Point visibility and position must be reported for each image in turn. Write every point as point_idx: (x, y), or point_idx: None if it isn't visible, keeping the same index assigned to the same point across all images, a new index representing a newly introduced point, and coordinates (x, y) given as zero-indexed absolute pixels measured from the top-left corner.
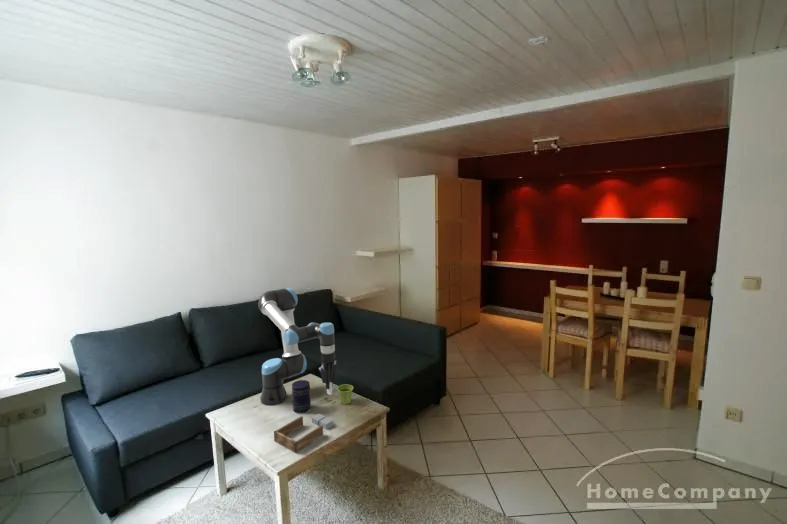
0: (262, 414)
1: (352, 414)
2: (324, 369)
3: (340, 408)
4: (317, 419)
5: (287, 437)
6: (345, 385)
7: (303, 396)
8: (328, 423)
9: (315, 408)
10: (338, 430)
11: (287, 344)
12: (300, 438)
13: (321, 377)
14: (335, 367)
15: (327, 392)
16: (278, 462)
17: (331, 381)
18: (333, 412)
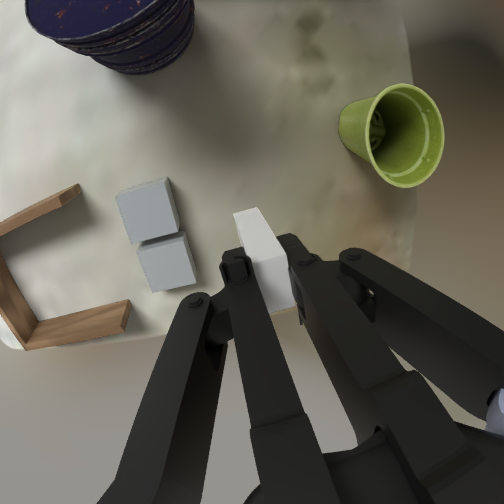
0: (6, 11)
1: (311, 246)
2: (257, 459)
3: (307, 162)
4: (134, 232)
5: (2, 312)
6: (427, 104)
7: (102, 56)
8: (168, 287)
9: (204, 69)
10: None
11: None
12: (38, 343)
13: (157, 366)
14: (452, 395)
15: (236, 225)
16: (2, 329)
17: (297, 305)
18: (257, 171)
